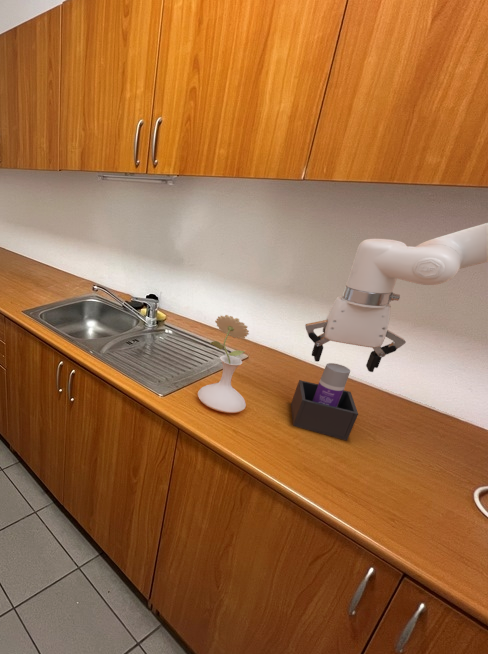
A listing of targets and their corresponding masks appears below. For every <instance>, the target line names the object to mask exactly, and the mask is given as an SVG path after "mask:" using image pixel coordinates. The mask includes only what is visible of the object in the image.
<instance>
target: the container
mask: <svg viewBox="0 0 488 654" xmlns="http://www.w3.org/2000/svg"><path fill="white" fill-rule="evenodd" d="M323 369H324V370H323V372H322V373H321V376H320V379H319V381H318V383H317V384H318V387H317V390H316V392H315V395H314V398H313V401H314V402H318V403H322V404H326V405H330V406H334V407H337V405H338V403H339V400H340V398H341V395H342V393H343V390H345V388H346V385H347V382H348V379H349V376H350V373H351V369H350V368H349V367H347V366H345V365H342V364H339V363H335V362H334V363H333V362H329V363H327V364H325V367H324V368H323Z"/></svg>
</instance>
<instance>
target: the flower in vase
mask: <svg viewBox="0 0 488 654" xmlns="http://www.w3.org/2000/svg"><path fill="white" fill-rule="evenodd" d="M214 322H215V324H216V327H218V329H219V331H221V332H222V333H223V334H226V335H225V338H224V341H223V344H222V343H221V342H219V341H217V340H213V341H210V343H209V344H210V345H213V346H214V347H216V348H217V349H218V350H224V351H225V355H220V357H219V358H220V361H221V364H222V373H221V378H220V380H219V382H215V383H210V384H206V385H204V386H202V387H200V388H199V390H198V392H197V396H198V399H199V401H200V402H201V403H202V404H204V406H206V407H207V408H209V409H212V410H214V411H217V412H220V413H224V414H236V413H240V412H242V411H244V410H245V409H246V407H247V404H246V400H245V398H244V397H243V396H242V395H241V394H240V392H239V391H237V390H236V389H235V388H234V387H233V386H232V378H233V375H234V373H235V371H236V369H237V368H238V367H239V366H241V365H242V364H243V360H241V358H239V357H237V356H240V355H243V354H244V353H245V352H246V350H236V349H235V350H233V351H231V352H229V353H228V350H227V347H226V342H227V339H228V337H231V338H234V339H246V337H248V335H250V330H248V325H246V324H245V323H244V322H241V321H240V318H238V317H235V318H234V317H233V316H232V315H230V316H229V314H225V315H220V316H217V318H216V320H215V321H214Z"/></svg>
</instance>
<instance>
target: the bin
mask: <svg viewBox="0 0 488 654" xmlns="http://www.w3.org/2000/svg"><path fill="white" fill-rule="evenodd" d="M318 384H319V383H314V382H310V381H305V380H302V379H299V380H298V381H297V384H296V388H295V391H294V394H293V397H292V400H291V403H290V409H291V419H292V425H293V427H296V428H300V429H303V430H308V431H310V432H314V433H318V434H322V435H325V436H329V437H332V438H334V439H335V438H336V439H338V440H339V439H340V440H342V441H348V439H349V437H350V435H351V432H352V430H353V428H354V425H355V423H356V421H357V418H358V416H359V412H358V410H357V406H356V403H355V400H354V398H353V395H352V392H351V391H349V390H345V389H344V390H343V393H342V395H341V398H340V400H339V403H338V405H337V407H334V406H330V405H326V404H322V403H318V402H314V401H313V398H314V395H315V392H316V390H317V387H318Z"/></svg>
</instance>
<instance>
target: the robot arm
mask: <svg viewBox="0 0 488 654" xmlns="http://www.w3.org/2000/svg"><path fill="white" fill-rule="evenodd" d="M355 252H356V253H355V255H354V257H353V261H352V265H351V268H350V271H349V274H348V278H347V280H346V283H345V286H344V290H343V292H342V295H339V296H337V297H336V298H335V299H334V301H333V303H332V304H331V307H330V309H329V311H328V313H327V316H326V319H324V320H319V321H313V322H309V323H305V325H304V327H305V330H306V334H307V336H308V338H309V340H311V341H312V342H313V344H314V345H313V348H312V351H311V357H313V358H314V362H320V360H321V357H322V354H323V351H324V344H326V343H328V342H336V343H341V344H346V345H352V346H359V347H365V348H371V349H373V350H372V351H371V352H370V354H369V357H368V358H367V362H366V364H365V367H366V369H367V371H368V373H369V372H370V373H374V370H375V369H378V368H379V365H380V363H381V361H382V358H384V357H385V356H386V355H389V354H392V353H395V352H397V350H398V349H400V348H402V346H404V345H406V343H407V341H406V339H404V338H403V337H401V336H399V335H398V334H396V333H395V332H393V331H391V330H389V329H388V328H389V323H390V318H391V310H392V306H391V304H390V302H392V301H399V300H400V298H401V295H400V294H398V293H394V292H393V291H394V288H395V286H396V283H397V280H402V281H405V282H408V283H412V284H417V285H420V286H421V285H422V286H437V285H441V284H444V283H447V282H448V281H450V280H453V278H454V277H455V276H456V275H457V274H458V272H459V270H462V269H466V268H470V267H472V266H478V265H481V264H485V263H488V222H485V223H481V224H478V225H474V226H471V227H468V228H465V229H461V230H458V231H454V232H451V233H448V234H445V235H441V236H438V237H435V238H431V239H428V240H426V241H423V242H421V243H419V244H417V245H416V246H411V245H409V246H407V243H405V242H403V241H400V240H396V239H389V238H367V239H364V240H362V241H361V242H360V243H359V244H358V246H357V249H356V251H355ZM317 329H322V333H321V334H319V335H317V333H315V331H314V330H317ZM386 338H387V339H389V340H391V341H392V342H391V343H389V344H386V345H383V344H384V342H385V339H386Z"/></svg>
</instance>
